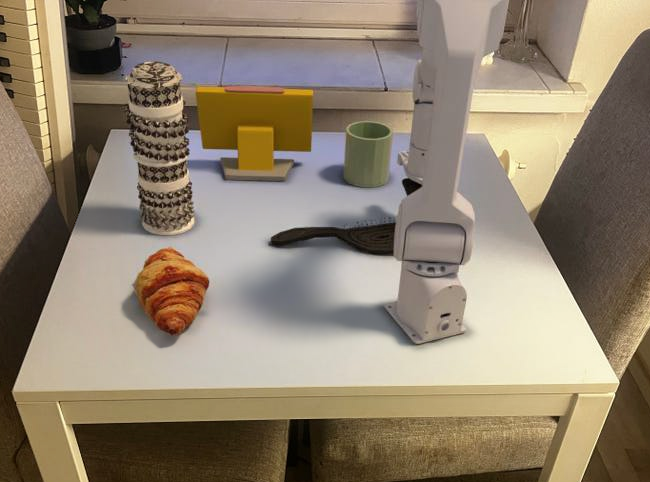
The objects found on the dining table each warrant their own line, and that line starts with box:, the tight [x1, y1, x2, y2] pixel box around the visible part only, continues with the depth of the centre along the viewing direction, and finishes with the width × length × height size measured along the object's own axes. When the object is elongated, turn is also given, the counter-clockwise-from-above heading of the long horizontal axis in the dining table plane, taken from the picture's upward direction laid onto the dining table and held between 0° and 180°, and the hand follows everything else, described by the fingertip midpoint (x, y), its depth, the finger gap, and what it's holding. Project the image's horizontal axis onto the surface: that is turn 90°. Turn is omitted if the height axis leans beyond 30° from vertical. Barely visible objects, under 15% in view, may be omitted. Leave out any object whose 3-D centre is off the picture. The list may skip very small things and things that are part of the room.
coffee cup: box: [343, 120, 394, 188], centre depth 138 cm, size 8×8×9 cm
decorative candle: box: [124, 61, 195, 236], centre depth 117 cm, size 9×9×25 cm
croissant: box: [134, 246, 210, 336], centre depth 106 cm, size 21×10×8 cm, turn 12°
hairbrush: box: [270, 216, 396, 256], centre depth 121 cm, size 8×4×25 cm
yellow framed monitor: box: [195, 85, 314, 182], centre depth 136 cm, size 20×8×16 cm, turn 91°
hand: (418, 222), depth 126 cm, fingers closed
